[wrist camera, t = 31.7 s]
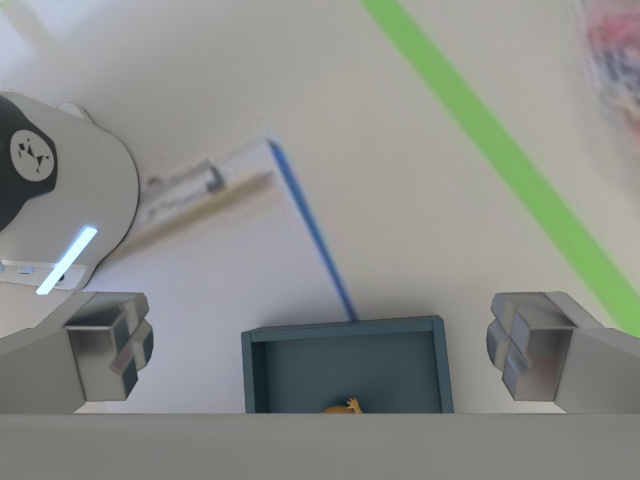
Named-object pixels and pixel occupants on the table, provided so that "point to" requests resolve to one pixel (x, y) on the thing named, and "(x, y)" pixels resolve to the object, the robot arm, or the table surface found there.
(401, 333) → the teal square tray
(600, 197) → the table surface
